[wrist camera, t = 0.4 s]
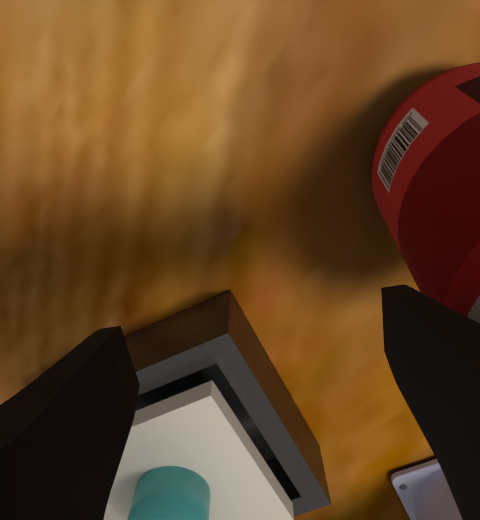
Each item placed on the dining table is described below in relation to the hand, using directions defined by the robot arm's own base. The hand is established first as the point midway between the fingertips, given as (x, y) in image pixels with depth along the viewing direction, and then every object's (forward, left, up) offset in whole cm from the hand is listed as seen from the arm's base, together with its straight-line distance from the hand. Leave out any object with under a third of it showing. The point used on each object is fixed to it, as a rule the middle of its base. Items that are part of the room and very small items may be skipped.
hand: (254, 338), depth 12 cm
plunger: (-9, +9, -6) cm, 14 cm away
